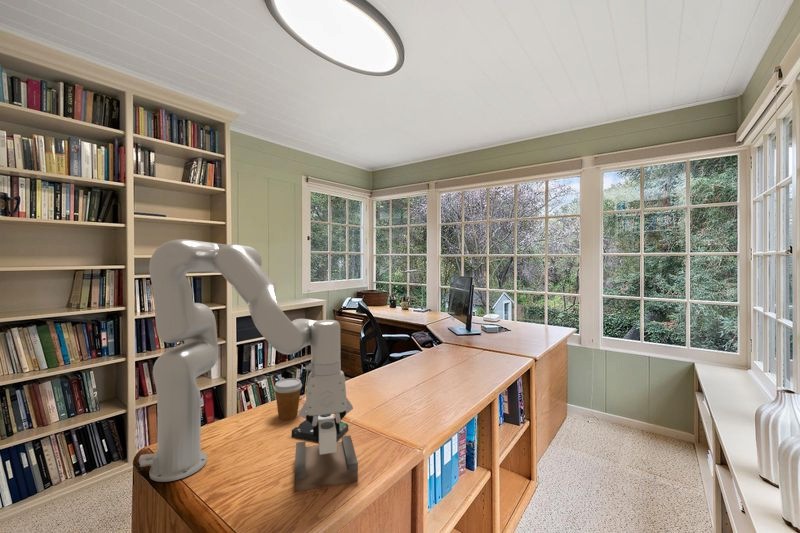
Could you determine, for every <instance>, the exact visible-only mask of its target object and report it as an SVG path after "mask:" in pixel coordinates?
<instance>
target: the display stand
mask: <svg viewBox="0 0 800 533" xmlns="http://www.w3.org/2000/svg"><path fill="white" fill-rule="evenodd" d="M306 441H307V440H305V441H299V442H295V454H294V455H295V456H294V458H295V460H294V471H293V472H294V478H293V479H294V481H293V482H294V483H293V484H294V488H293V489H294V490H293V491H294V492H295V493H297V492H302V491H308V490H314V489H320V488H326V487H330V486H337V485H342V484H343V485H344V484H348V483H354V482H355V481H356V482H359V481H358V480H359V476H358V475H359V463H358V459H357V458H358V457H357V454H356V450H355V447H354V443H353V439H352V435H351V434H350V435H343V436H341V441H336V445H337V452H334V453H328V454H321V455H320V452H319V444H317V445H316V444H315V445H308V446H307V445H306Z"/></svg>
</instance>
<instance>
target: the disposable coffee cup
mask: <svg viewBox="0 0 800 533" xmlns="http://www.w3.org/2000/svg"><path fill="white" fill-rule="evenodd" d="M302 387H303V384H302V380H301V379H298V378H284V379H281V380H280V379H279V380H278V381H276V382H275V384H274V387H273V389H274V391H275V401H276V408H277V416H278V420H280V421H290V420H294V419H296V418H297V417H298V414H299V406H300V396H301V390H302Z"/></svg>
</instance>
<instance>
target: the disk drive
mask: <svg viewBox="0 0 800 533" xmlns="http://www.w3.org/2000/svg"><path fill="white" fill-rule="evenodd" d="M348 430H349V424H348V423H347V422H343V421H341V422H340V433H339V434H337V439H336V442H338V441H339V440H340V439H341V438H342V436H345V433H347V431H348ZM291 438H294V439H300V440H305V441H310V442H314V443H319V441H318V442H316V437H313V426H312V424H311V423H310V422H309V421H307V420H306V419H304V420H303V421H302V422H300V423H299V425H298V426H295V427H294V428H292V429H291Z"/></svg>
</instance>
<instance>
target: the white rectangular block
mask: <svg viewBox="0 0 800 533" xmlns="http://www.w3.org/2000/svg"><path fill="white" fill-rule="evenodd" d="M334 418H335V415H334V414H328V415H320V416H318V424H319V442H318V445H319V452H320V455H321V454H328V453H334V452H337V445H336V442H337V441H336V427H335V421H334Z"/></svg>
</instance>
